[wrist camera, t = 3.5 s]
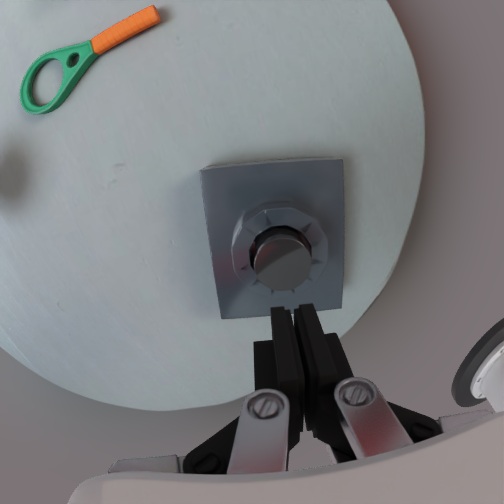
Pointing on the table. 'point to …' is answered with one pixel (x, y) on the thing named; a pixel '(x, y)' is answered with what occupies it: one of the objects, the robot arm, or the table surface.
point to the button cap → (281, 260)
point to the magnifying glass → (83, 58)
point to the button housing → (273, 217)
